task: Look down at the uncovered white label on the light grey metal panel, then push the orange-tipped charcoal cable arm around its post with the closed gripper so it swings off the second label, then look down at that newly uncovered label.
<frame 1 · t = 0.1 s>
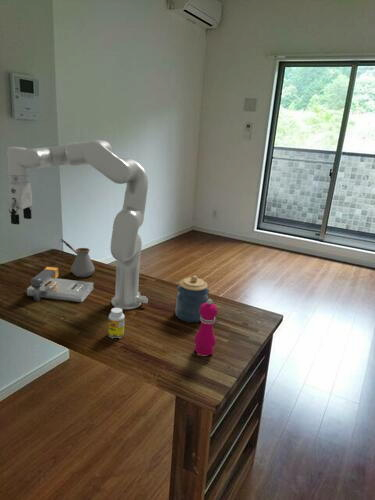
hand: (21, 221, 153), 31 cm above the counter, tool pointing down, fingers open, 9 cm apart
coffee pot: (75, 272, 187), on the counter
supplement bottle: (116, 336, 134), on the counter
canister: (190, 316, 153), on the counter
pepper mill: (203, 352, 129), on the counter
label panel: (61, 291, 164), on the counter
pivot post: (37, 299, 155), on the counter
cable arm: (44, 278, 159), point 7 cm above the counter, hinge at 0.0°
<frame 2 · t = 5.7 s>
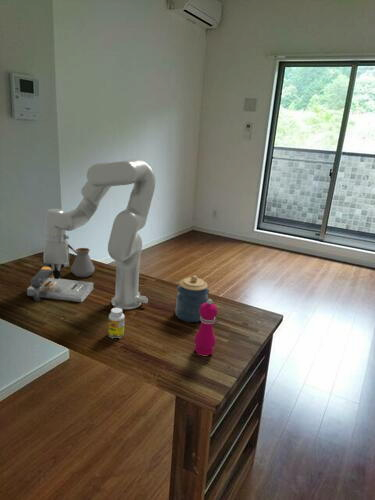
hand: (57, 278, 164), 6 cm above the counter, tool pointing down, fingers closed
cable arm: (42, 277, 159), point 7 cm above the counter, hinge at 6.6°, touching gripper
everything else where it was.
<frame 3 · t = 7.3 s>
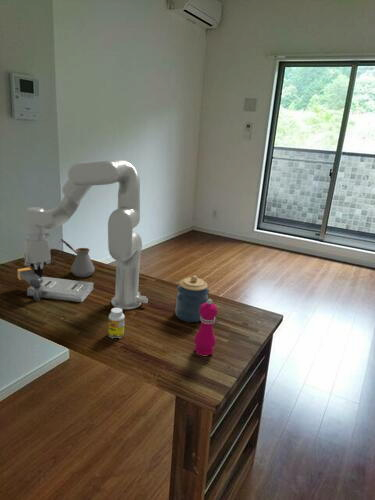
hand: (38, 276, 164), 6 cm above the counter, tool pointing down, fingers closed
cable arm: (30, 278, 157), point 7 cm above the counter, hinge at 47.9°, touching gripper
everything else where it was.
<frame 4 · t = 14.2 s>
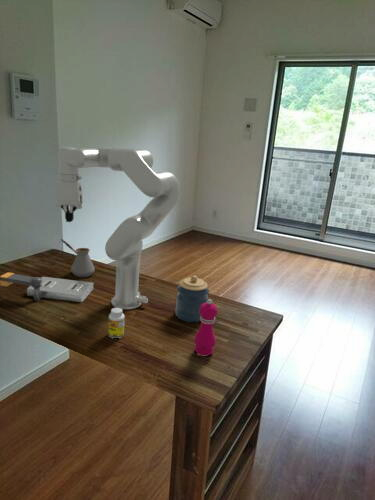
hand: (69, 221, 159), 31 cm above the counter, tool pointing down, fingers closed
cable arm: (22, 281, 154), point 7 cm above the counter, hinge at 83.5°
everything else where it was.
at the end: cable arm at +84° (first picture: +0°) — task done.
